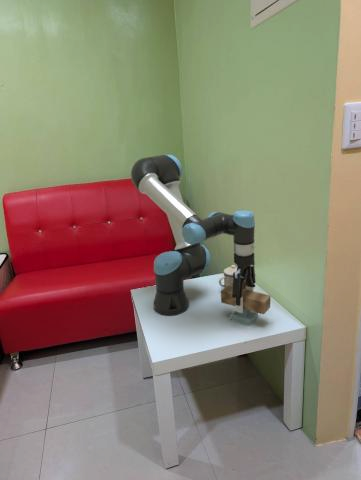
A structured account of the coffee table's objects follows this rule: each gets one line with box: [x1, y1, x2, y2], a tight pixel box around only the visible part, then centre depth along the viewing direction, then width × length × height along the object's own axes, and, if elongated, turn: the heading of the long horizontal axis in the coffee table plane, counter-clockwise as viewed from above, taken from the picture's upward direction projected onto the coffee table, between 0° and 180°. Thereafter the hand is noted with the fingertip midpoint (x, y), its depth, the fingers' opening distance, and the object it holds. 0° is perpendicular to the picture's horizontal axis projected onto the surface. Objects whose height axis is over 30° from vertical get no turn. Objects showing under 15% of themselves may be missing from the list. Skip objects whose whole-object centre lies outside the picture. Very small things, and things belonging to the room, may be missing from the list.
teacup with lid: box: [218, 264, 238, 289], centre depth 160 cm, size 12×9×12 cm
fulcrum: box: [230, 309, 259, 327], centre depth 138 cm, size 8×8×6 cm
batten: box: [220, 285, 272, 315], centre depth 136 cm, size 18×6×5 cm, turn 54°
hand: (244, 306), depth 137 cm, fingers open, 8 cm apart
